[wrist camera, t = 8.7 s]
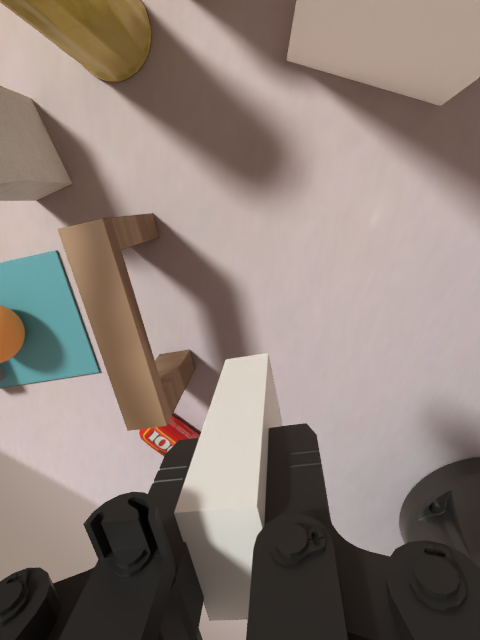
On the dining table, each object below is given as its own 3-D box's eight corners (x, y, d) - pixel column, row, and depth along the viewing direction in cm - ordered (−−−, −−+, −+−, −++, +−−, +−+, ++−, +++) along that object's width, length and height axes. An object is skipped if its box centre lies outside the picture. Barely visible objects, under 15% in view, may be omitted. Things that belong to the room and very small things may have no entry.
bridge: (152, 213, 30) (102, 218, 22) (195, 368, 35) (166, 425, 26) (120, 220, 31) (57, 229, 22) (165, 373, 35) (127, 430, 26)
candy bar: (136, 419, 37) (124, 437, 35) (155, 395, 36) (145, 412, 34) (256, 505, 39) (254, 529, 37) (278, 485, 38) (278, 508, 35)
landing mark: (99, 371, 36) (98, 372, 36) (-6, 388, 38) (-8, 389, 37) (56, 250, 32) (55, 250, 32) (-57, 275, 34) (-59, 276, 34)
